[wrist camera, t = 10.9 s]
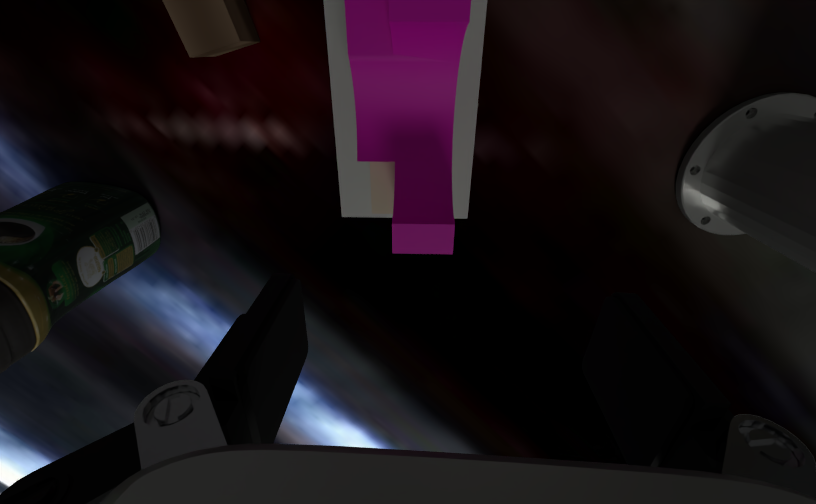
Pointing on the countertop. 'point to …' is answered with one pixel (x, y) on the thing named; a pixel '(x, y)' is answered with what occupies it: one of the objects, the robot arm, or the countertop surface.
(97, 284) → the coffee jar
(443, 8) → the toy block
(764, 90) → the countertop surface
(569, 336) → the countertop surface
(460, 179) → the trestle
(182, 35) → the cube
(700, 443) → the robot arm
